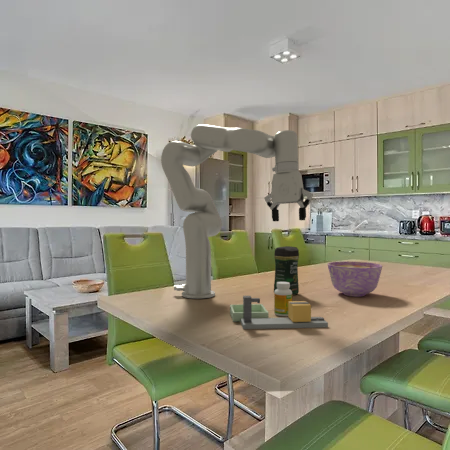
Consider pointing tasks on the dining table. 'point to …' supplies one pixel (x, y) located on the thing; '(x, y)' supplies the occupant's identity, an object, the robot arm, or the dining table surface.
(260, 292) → the dining table surface
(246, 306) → the post
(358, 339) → the dining table surface
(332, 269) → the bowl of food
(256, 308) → the green square tray
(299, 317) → the strap block
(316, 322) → the base plate
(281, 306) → the supplement bottle
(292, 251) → the coffee jar
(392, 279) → the dining table surface
